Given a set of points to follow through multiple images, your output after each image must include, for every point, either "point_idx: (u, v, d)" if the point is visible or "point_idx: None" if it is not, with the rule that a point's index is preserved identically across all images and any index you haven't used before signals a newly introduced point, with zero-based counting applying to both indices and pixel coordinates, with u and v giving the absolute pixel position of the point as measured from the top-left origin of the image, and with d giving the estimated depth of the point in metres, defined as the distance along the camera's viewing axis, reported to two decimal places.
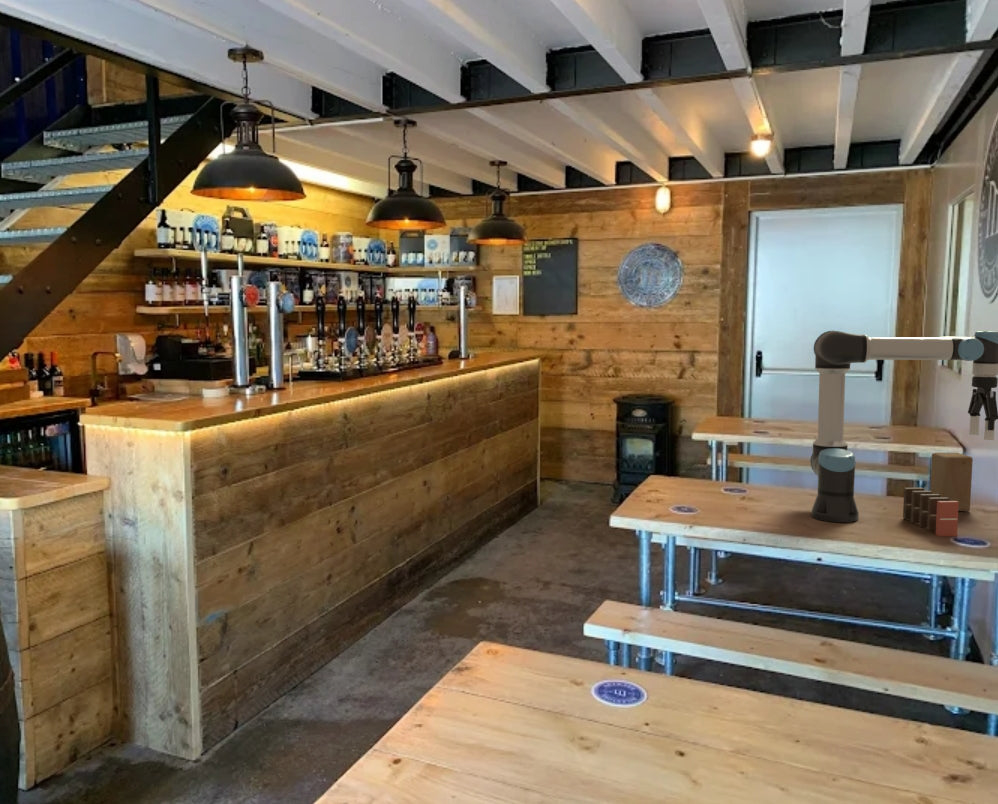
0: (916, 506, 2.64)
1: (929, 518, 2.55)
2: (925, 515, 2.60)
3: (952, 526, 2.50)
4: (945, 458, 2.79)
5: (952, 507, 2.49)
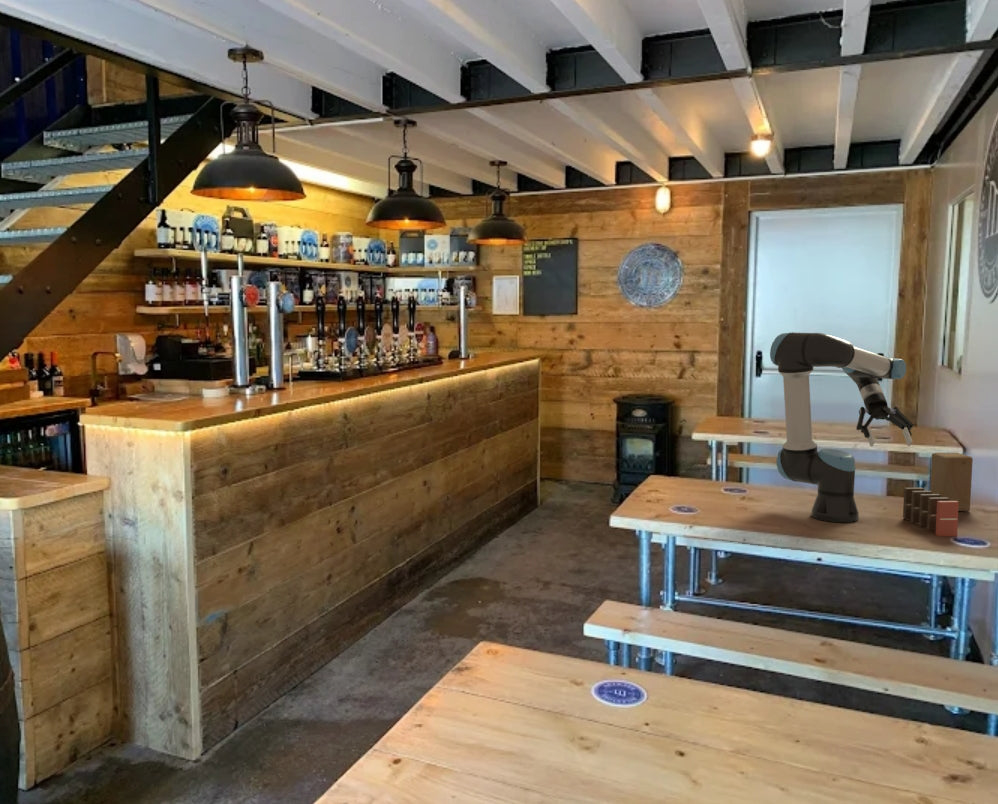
0: (916, 506, 2.64)
1: (929, 518, 2.55)
2: (925, 515, 2.60)
3: (952, 526, 2.50)
4: (945, 458, 2.79)
5: (952, 507, 2.49)
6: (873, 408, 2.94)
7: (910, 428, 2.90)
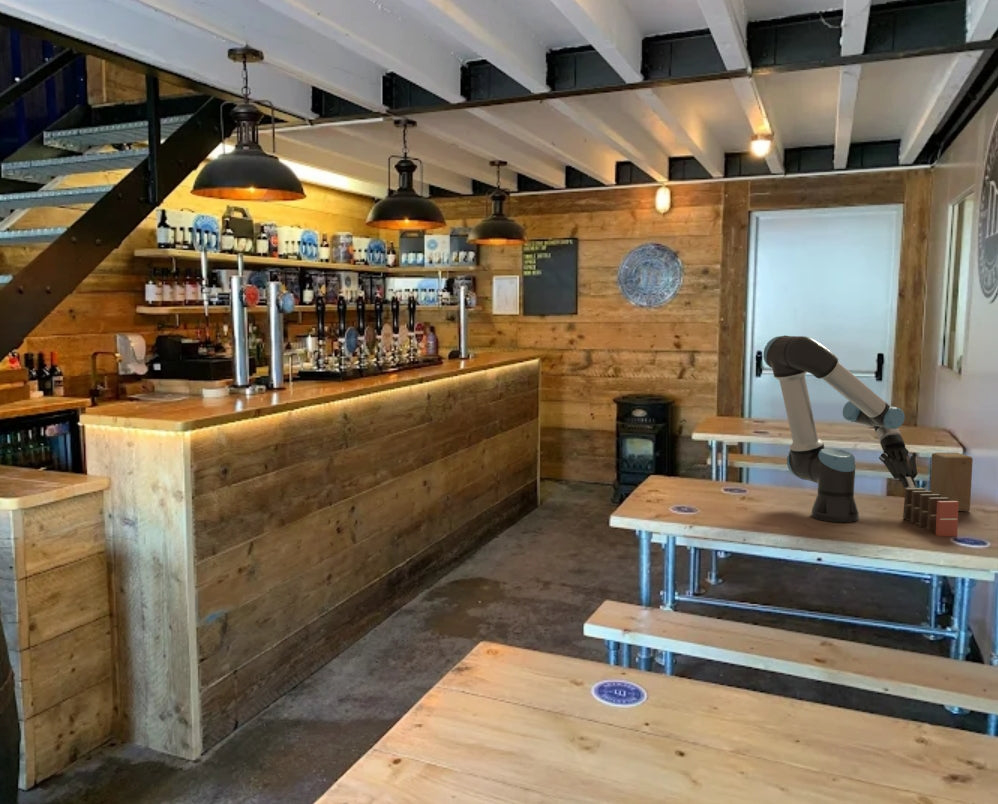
0: (916, 506, 2.64)
1: (929, 518, 2.55)
2: (925, 515, 2.60)
3: (952, 526, 2.50)
4: (945, 458, 2.79)
5: (952, 507, 2.49)
6: (889, 449, 2.82)
7: None
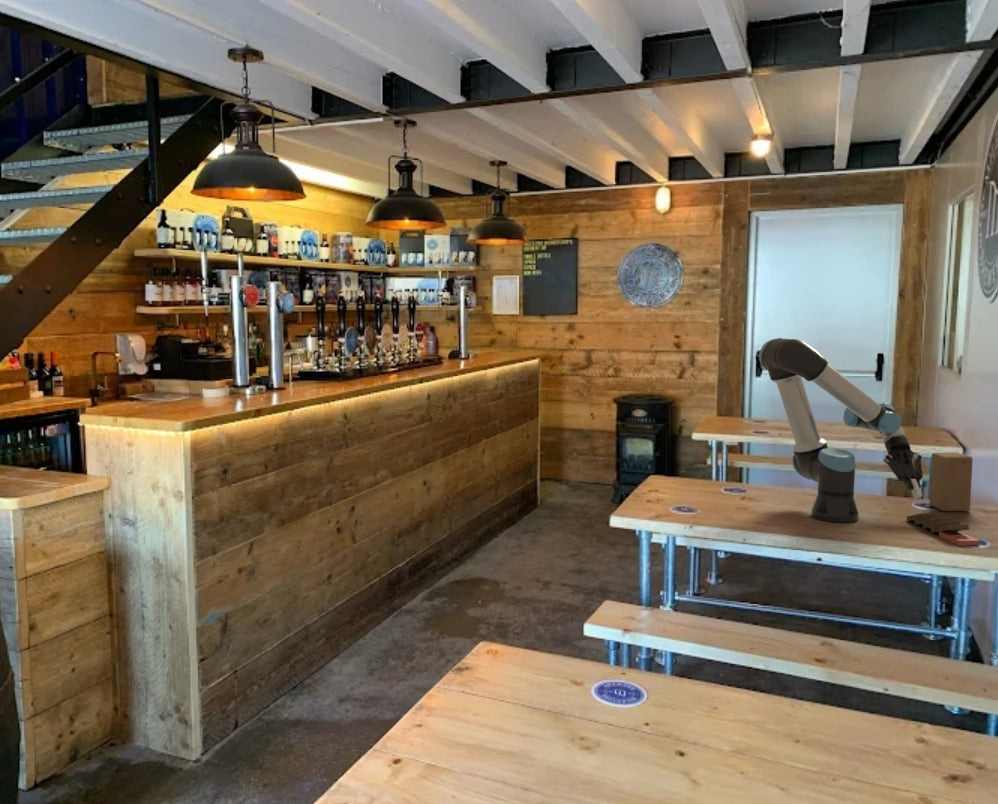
0: None
1: (938, 530, 2.50)
2: None
3: None
4: (945, 458, 2.79)
5: None
6: (894, 451, 2.78)
7: None
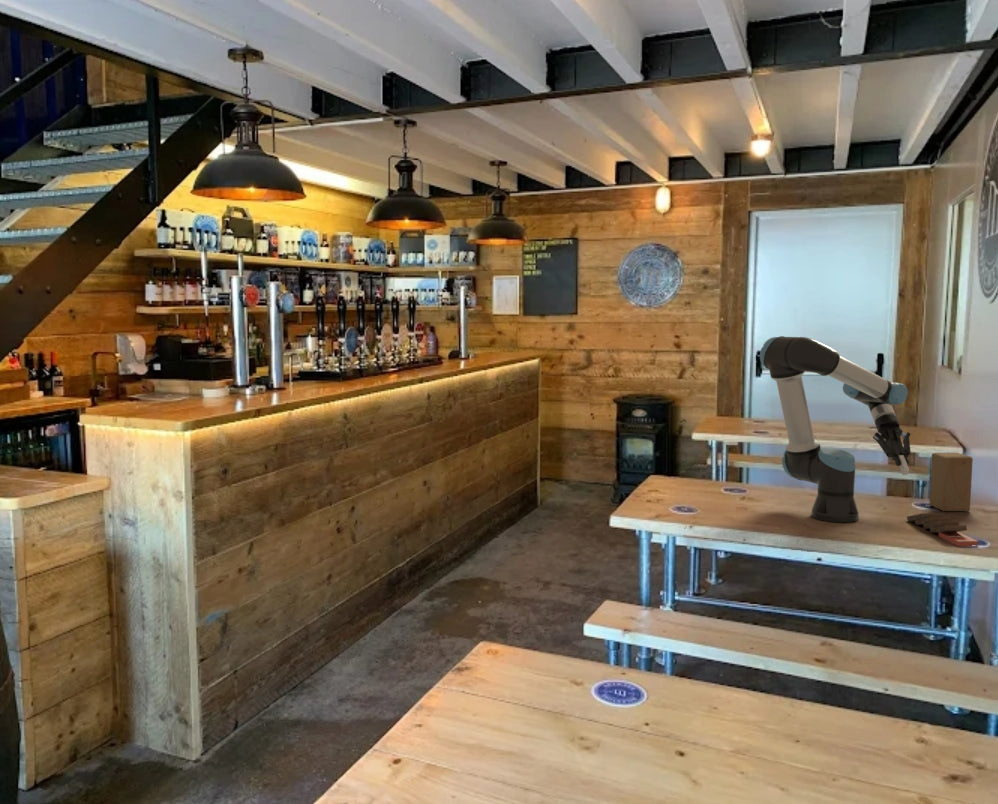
0: None
1: (936, 530, 2.50)
2: None
3: None
4: (945, 458, 2.79)
5: None
6: (883, 428, 2.86)
7: None
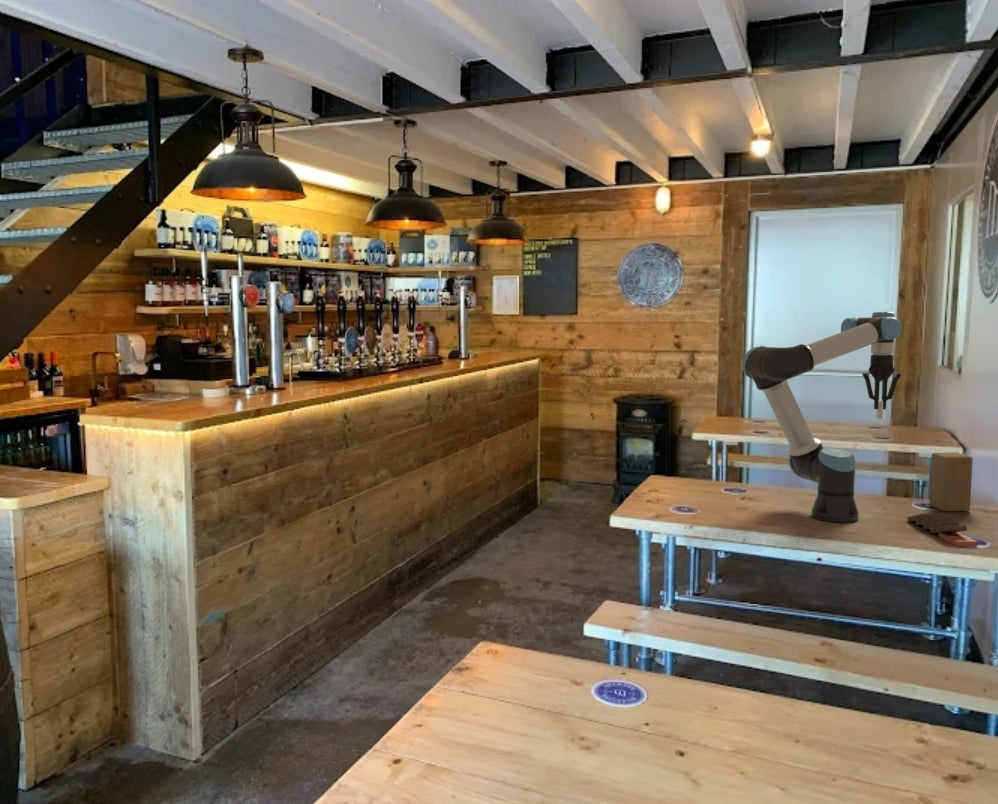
0: None
1: (936, 530, 2.49)
2: None
3: None
4: (945, 458, 2.79)
5: None
6: (874, 368, 2.88)
7: None
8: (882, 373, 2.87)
